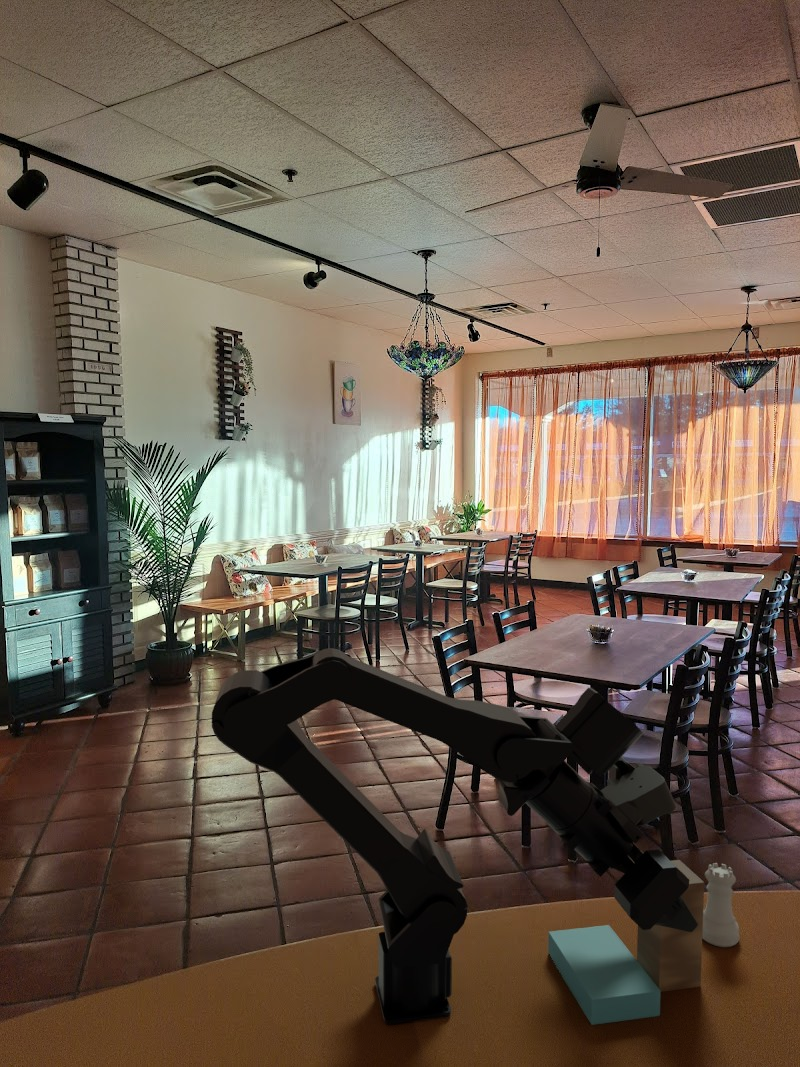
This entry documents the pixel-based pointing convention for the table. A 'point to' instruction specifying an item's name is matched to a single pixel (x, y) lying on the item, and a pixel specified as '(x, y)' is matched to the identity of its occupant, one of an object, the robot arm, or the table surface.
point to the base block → (603, 975)
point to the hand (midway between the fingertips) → (670, 901)
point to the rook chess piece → (719, 908)
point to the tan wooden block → (675, 944)
